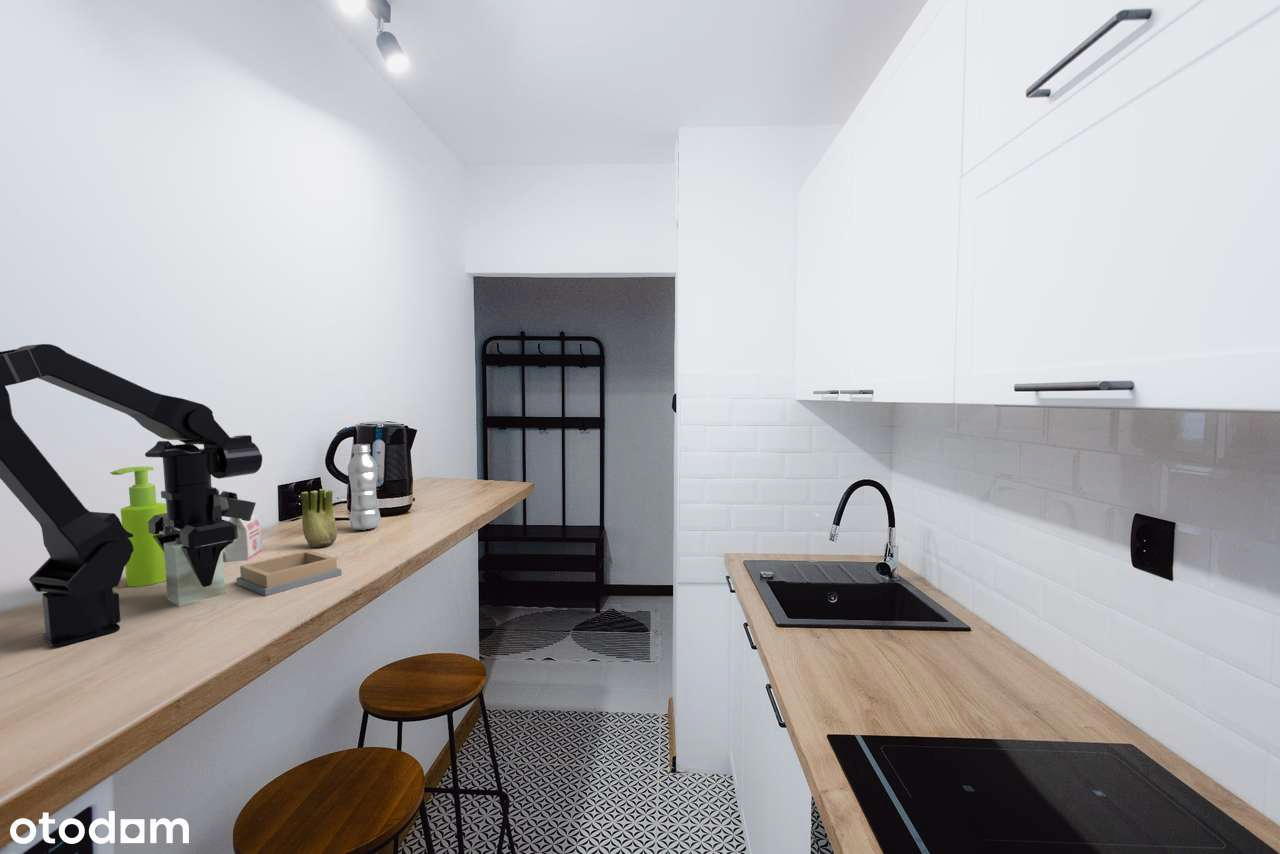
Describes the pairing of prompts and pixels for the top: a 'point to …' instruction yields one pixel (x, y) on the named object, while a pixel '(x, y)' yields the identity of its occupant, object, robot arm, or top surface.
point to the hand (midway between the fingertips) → (195, 580)
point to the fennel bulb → (318, 518)
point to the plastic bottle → (363, 489)
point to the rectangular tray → (287, 572)
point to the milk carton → (245, 540)
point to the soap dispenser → (142, 531)
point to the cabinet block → (188, 577)
